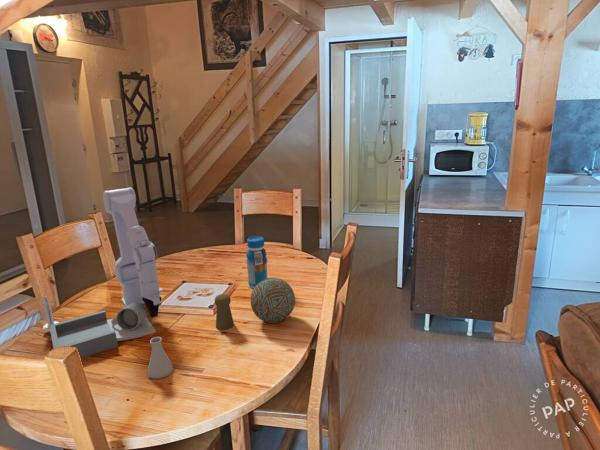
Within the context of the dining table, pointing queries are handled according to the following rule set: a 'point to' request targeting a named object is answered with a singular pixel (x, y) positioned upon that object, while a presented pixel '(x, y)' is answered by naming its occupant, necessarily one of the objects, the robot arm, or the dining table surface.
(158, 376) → the flask
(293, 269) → the dining table surface
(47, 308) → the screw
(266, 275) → the beverage bottle
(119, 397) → the dining table surface
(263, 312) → the decorative sphere
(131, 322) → the ceramic mug
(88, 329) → the dock
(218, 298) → the olive pawn
